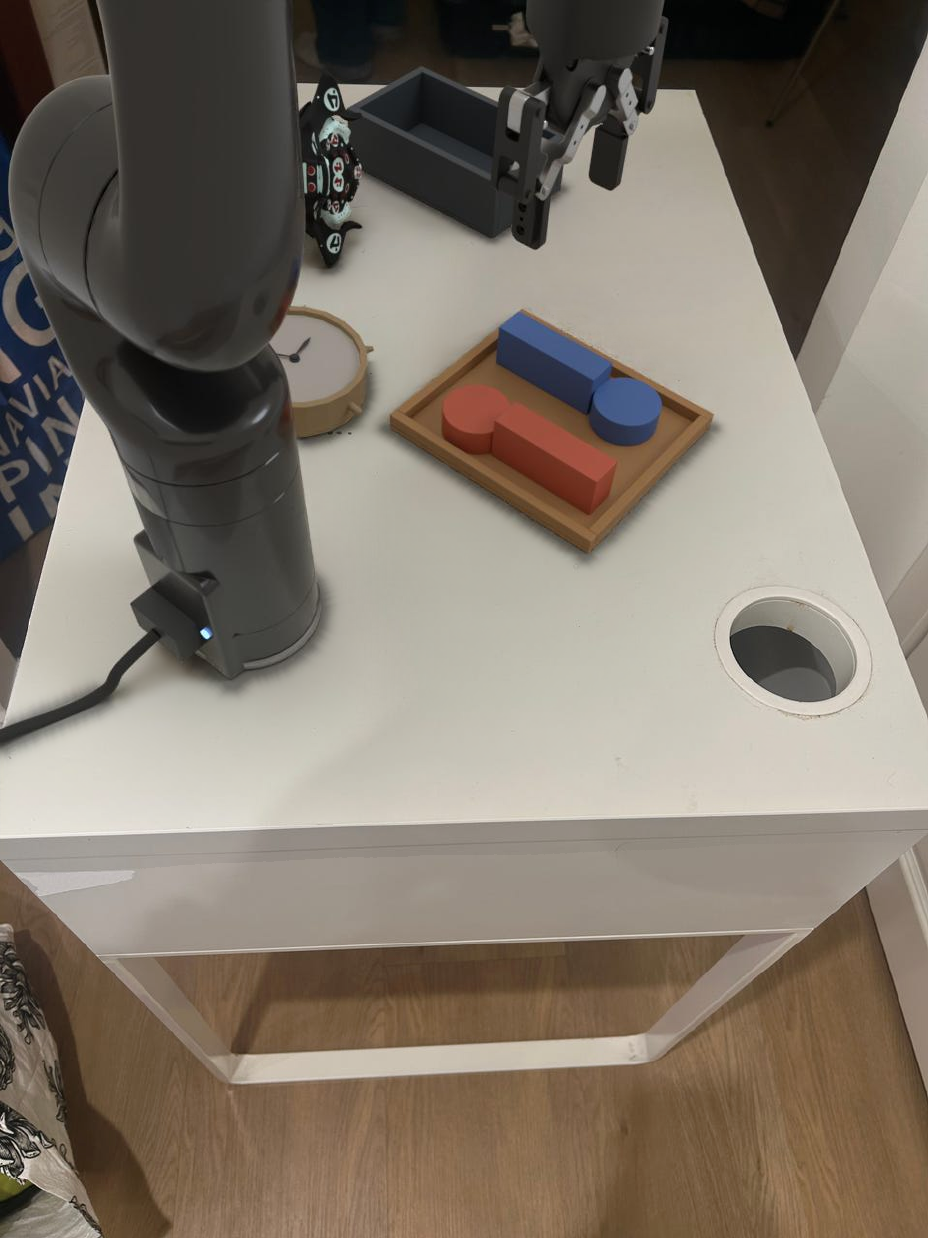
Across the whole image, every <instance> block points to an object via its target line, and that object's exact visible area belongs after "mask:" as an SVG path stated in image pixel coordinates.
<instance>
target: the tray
mask: <svg viewBox="0 0 928 1238" xmlns="http://www.w3.org/2000/svg"><path fill="white" fill-rule="evenodd" d="M519 311H520V312H522V313H523V314H525V315H527V316H529V317H531V318H532V319H534V320H536V321H538V322H540V323H541V324H543V325H545V326H547V327H549V328H550V329H552V330H554V331H556V332H558V333H560V334H561V335H563V336H565V337H567V338H569V339H570V340H572V341H574V342H576V343H578V344H579V345H581V346H583V347H585V348H587V349H589V350H590V351H592V352H594V353H596V354H598V355H599V356H601V357H603V358H605V359H607V360H608V361H610V362H612V363H613V364H612V369H611V373H610V378H609V380H610V379H614V378H632V379H636V380H640V381H642V382H644V383H646V384H648V385H650V386H651V387H652V388H653V389H654V390H655V391H656V392H657V393H658V395H659V396H660V399H661V402H662V408H661V412H660V416H659V420H658V423H657V427H656V430H655V433H654V434H653V436H652V437H651V438H650V439H649V440H647V441H646V442H644V443H642V444H639V445H635V446H619V445H615V444H611V443H609V442H607V441H605V440H603V439H601V438H600V437H599V436H598V435H597V434H596V433H595V432H594V431H593V430H592V428H591V425H590V422H589V415H590V413H588V414H587V415H585V414H583V413H582V412H580V411H578V410H576V409H575V408H573V407H571V406H570V405H568V404H566V403H564V402H563V401H561V400H559V399H557V398H556V397H554V396H552V395H551V394H549V393H547V392H545V391H544V390H542V389H540V388H539V387H537V386H535V385H533V384H532V383H530V382H528V381H526V380H525V379H523V378H521V377H520V376H518V375H516V374H514V373H513V372H511V371H509V370H507V369H506V368H504V367H502V366H501V365H499V364H497V363H496V355H497V344H498V333H499V327H497V328H496V329H495V330H494V331H492V332H491V333H490V334H488V336H486V337H485V338H484V339H483V340H482V341H480V342H479V343H477V344H476V345H475V346H474V347H472V348H471V349H470V350H469V351H467V352H466V353H465V354H464V355H462V356H461V357H460V358H459V359H458V360H456V361H454V363H452V364H451V365H450V366H448V367H447V368H446V369H445V370H444V371H442V372H441V373H440V374H439V375H438V376H436V377H435V378H434V379H432V380H431V381H430V382H429V383H428V384H426V385H425V386H424V387H422V388H421V389H420V390H418V391H417V392H416V393H415V394H413V395H412V396H411V397H410V398H409V399H407V400H406V401H405V402H403V404H401V405H400V406H398V407H397V408H396V409H394V410H393V411H392V412H391V413H390V414H389V428H390V429H391V430H392V431H394V432H396V433H397V434H399V435H401V436H402V437H404V438H405V439H407V440H408V441H409V442H411V443H413V444H414V445H416V446H418V447H419V448H421V449H422V450H424V451H425V452H427V453H428V454H429V455H430V454H431V455H432V456H433V457H435V458H436V459H439V460H440V461H441V462H443V463H444V464H446V465H448V467H451V468H452V469H453V470H456V471H457V472H458V473H460V474H462V475H464V476H465V477H467V478H468V479H470V480H471V481H473V482H474V483H476V484H478V485H479V486H481V487H483V489H485V490H487V491H489V492H490V493H491V494H493V495H494V496H496V497H498V498H499V499H501V500H503V501H504V502H506V503H507V504H509V505H510V506H512V507H513V508H515V509H517V510H518V511H520V513H521V512H522V513H523V514H524V515H526V516H527V517H529V518H531V519H533V520H534V521H536V522H537V523H539V524H540V525H541V526H543V527H545V528H547V529H548V530H549V531H551V532H553V533H554V534H556V535H558V536H559V537H560V538H562V539H564V540H565V541H567V542H569V543H570V544H572V545H573V546H575V547H576V548H578V549H579V550H581V551H582V552H584V553H586V554H590V552H592V550H593V549H594V548H596V546H597V545H598V544H599V543H600V542H602V540H603V539H604V538H605V537H606V536H607V535H608V534H609V533H610V532H611V531H612V530H613V528H615V527H616V526H617V525H618V524H619V522H621V520H623V518H624V517H625V516H627V514H628V513H629V512H630V511H632V509H633V508H634V507H635V506H636V505H637V503H638V502H640V501H641V500H642V498H643V497H644V496H645V495H646V494H647V493H648V492H649V491H650V490H651V489H652V488H653V487H654V486H655V485H656V484H657V483H658V482H659V480H661V479H662V478H663V476H665V474H667V473H668V471H670V469H671V468H672V467H673V466H674V465H675V464H676V463H677V462H678V461H679V460H680V459H681V458H682V457H683V456H684V455H685V454H686V452H688V451H689V450H690V448H692V446H693V445H695V443H696V442H697V441H698V440H699V439H700V438H701V437H702V436H703V435H704V434H705V433H706V432H707V431H708V430H709V429H710V428H711V425H712V422H713V420H714V417H715V414H714V413H712V412H711V411H709V410H707V409H705V408H704V407H702V406H700V405H698V404H696V403H695V402H693V401H691V400H689V399H687V398H686V397H684V396H683V395H680V394H678V393H676V392H674V391H673V390H671V389H669V388H667V387H665V386H664V385H662V384H660V383H658V382H656V381H655V380H653V379H651V378H649V377H648V376H645V375H643V374H642V373H640V372H638V371H636V370H635V369H634V368H631V367H629V366H628V365H626V364H623V363H622V362H620V361H618V360H616V359H614V358H613V357H611V356H609V355H607V354H606V353H604V352H602V351H600V350H598V349H597V348H595V347H593V346H591V345H590V344H587V343H586V342H584V341H582V340H580V339H578V338H577V337H575V336H573V335H571V334H569V333H567V332H566V331H563V330H562V329H560V328H559V327H556V326H554V325H553V324H551V323H549V322H547V320H544V319H542V318H540V317H538V316H536V315H535V314H533V313H531V312H529V311H527V310H526V309H524V308H521V309H520V310H519ZM467 385H484V386H488V387H492V388H494V389H496V390H498V391H500V392H501V393H502V394H504V395H505V396H506V397H507V399H508V400H509V402H510V404H511V405H513V404H514V403H515V402H518V403H520V404H521V405H523V406H525V407H526V408H528V409H530V410H531V411H533V412H535V413H537V414H538V415H540V416H542V417H543V418H545V419H547V420H548V421H550V422H552V423H553V424H555V425H557V426H558V427H560V428H562V429H564V430H565V431H567V432H569V433H570V434H572V435H574V436H575V437H577V438H579V439H580V440H582V441H584V442H586V443H587V444H589V445H591V446H592V447H594V448H596V449H597V450H599V451H601V452H602V453H604V454H606V455H608V456H609V457H611V458H613V459H614V460H616V461H617V466H616V470H615V474H614V478H613V482H612V486H611V490H610V494H609V496H608V497H607V498H606V499H605V500H604V501H603V502H602V503H601V504H600V505H599V506H598V507H597V508H596V509H595V510H594V511H593V512H592V513H591V514H590V515H587V514H586V513H584V512H582V511H581V510H579V509H578V508H576V507H574V506H573V505H571V504H569V503H568V502H566V501H565V500H563V499H561V498H560V497H558V496H557V495H555V494H553V493H552V492H550V491H549V490H547V489H545V488H544V487H542V486H540V485H539V484H537V483H536V482H534V481H532V480H531V479H529V478H528V477H526V476H524V475H523V474H521V473H520V472H518V471H516V470H515V469H513V468H511V467H510V466H508V465H507V464H505V463H503V462H502V461H500V460H499V459H497V458H495V457H494V456H492V455H491V452H490V453H486V454H469V453H465V452H463V451H462V450H460V449H459V448H457V447H455V446H454V445H452V444H451V443H449V442H447V441H446V440H445V438H444V436H443V434H442V406H443V402H444V400H445V398H446V397H447V396H448V395H449V394H450V393H451V392H452V391H454V390H455V389H457V388H460V387H463V386H467Z"/></svg>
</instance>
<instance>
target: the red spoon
mask: <svg viewBox="0 0 928 1238" xmlns="http://www.w3.org/2000/svg"><path fill="white" fill-rule="evenodd" d="M442 434H443V436H444V438H445V440H446V441H447V442H449V443H451V444H452V445H454V446H455V447H457V448H459V449H460V450H462V451H463V452H465V453H469V454H486V453H490V452H491V455H492V456H494V457H495V458H497V459H499V460H500V461H502V462H503V463H505V464H507V465H508V466H510V467H511V468H513V469H515V470H516V471H518V472H520V473H521V474H523V475H524V476H526V477H528V478H529V479H531V480H532V481H534V482H536V483H537V484H539V485H540V486H542V487H544V488H545V489H547V490H549V491H550V492H552V493H553V494H555V495H557V496H558V497H560V498H561V499H563V500H565V501H566V502H568V503H569V504H571V505H573V506H574V507H576V508H578V509H579V510H581V511H582V512H584V513H586V514H587V515H590V514H591V513H592V512H593V511H594V510H595V509H596V508H597V507H598V506H599V505H600V504H601V503H602V502H603V501H604V500H605V499H606V498H607V497H608V496H609V494H610V490H611V486H612V482H613V478H614V474H615V470H616V466H617V461H616V460H614V459H613V458H611V457H609V456H608V455H606V454H604V453H602V452H601V451H599V450H597V449H596V448H594V447H592V446H591V445H589V444H587V443H586V442H584V441H582V440H580V439H579V438H577V437H575V436H574V435H572V434H570V433H569V432H567V431H565V430H564V429H562V428H560V427H558V426H557V425H555V424H553V423H552V422H550V421H548V420H547V419H545V418H543V417H542V416H540V415H538V414H537V413H535V412H533V411H531V410H530V409H528V408H526V407H525V406H523V405H521V404H520V403H518V402H515V403H514V404H513V405H511V404H510V402H509V400H508V399H507V397H506V396H505V395H504V394H502V393H501V392H500V391H498V390H496V389H494V388H492V387H488V386H484V385H467V386H463V387H460V388H457V389H455V390H454V391H452V392H451V393H450V394H449V395H448V396H447V397H446V398H445V400H444V402H443V406H442Z"/></svg>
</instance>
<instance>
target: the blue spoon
mask: <svg viewBox="0 0 928 1238" xmlns="http://www.w3.org/2000/svg"><path fill="white" fill-rule="evenodd" d="M498 328H499V333H498V344H497V355H496V363H497V364H499V365H501V366H502V367H504V368H506V369H507V370H509V371H511V372H513V373H514V374H516V375H518V376H520V377H521V378H523V379H525V380H526V381H528V382H530V383H532V384H533V385H535V386H537V387H539V388H540V389H542V390H544V391H545V392H547V393H549V394H551V395H552V396H554V397H556V398H557V399H559V400H561V401H563V402H564V403H566V404H568V405H570V406H571V407H573V408H575V409H576V410H578V411H580V412H582V413H583V414H585V415H587V414H588V413H590V415H589V422H590V425H591V428H592V430H593V431H594V432H595V433H596V434H597V435H598V436H599V437H600V438H601V439H603V440H605V441H607V442H609V443H611V444H615V445H619V446H635V445H639V444H642V443H644V442H646V441H647V440H649V439H650V438H651V437H652V436H653V434H654V433H655V430H656V427H657V423H658V420H659V416H660V412H661V408H662V402H661V399H660V396H659V395H658V393H657V392H656V391H655V390H654V389H653V388H652V387H651V386H650V385H648V384H646V383H644V382H642V381H640V380H636V379H632V378H614V379H610V380H609V378H610V373H611V369H612V364H613V363H612V362H610V361H608V360H607V359H605V358H603V357H601V356H599V355H598V354H596V353H594V352H592V351H590V350H589V349H587V348H585V347H583V346H581V345H579V344H578V343H576V342H574V341H572V340H570V339H569V338H567V337H565V336H563V335H561V334H560V333H558V332H556V331H554V330H552V329H550V328H549V327H547V326H545V325H543V324H541V323H540V322H538V321H536V320H534V319H532V318H531V317H529V316H527V315H525V314H523V313H522V312H520V310H519V311H517V312H516V313H515V314H514V315H512V316H511V317H510V318H508V319H507V320H506V321H504V322H503V323H502V324H501V325H500V326H498Z"/></svg>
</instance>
